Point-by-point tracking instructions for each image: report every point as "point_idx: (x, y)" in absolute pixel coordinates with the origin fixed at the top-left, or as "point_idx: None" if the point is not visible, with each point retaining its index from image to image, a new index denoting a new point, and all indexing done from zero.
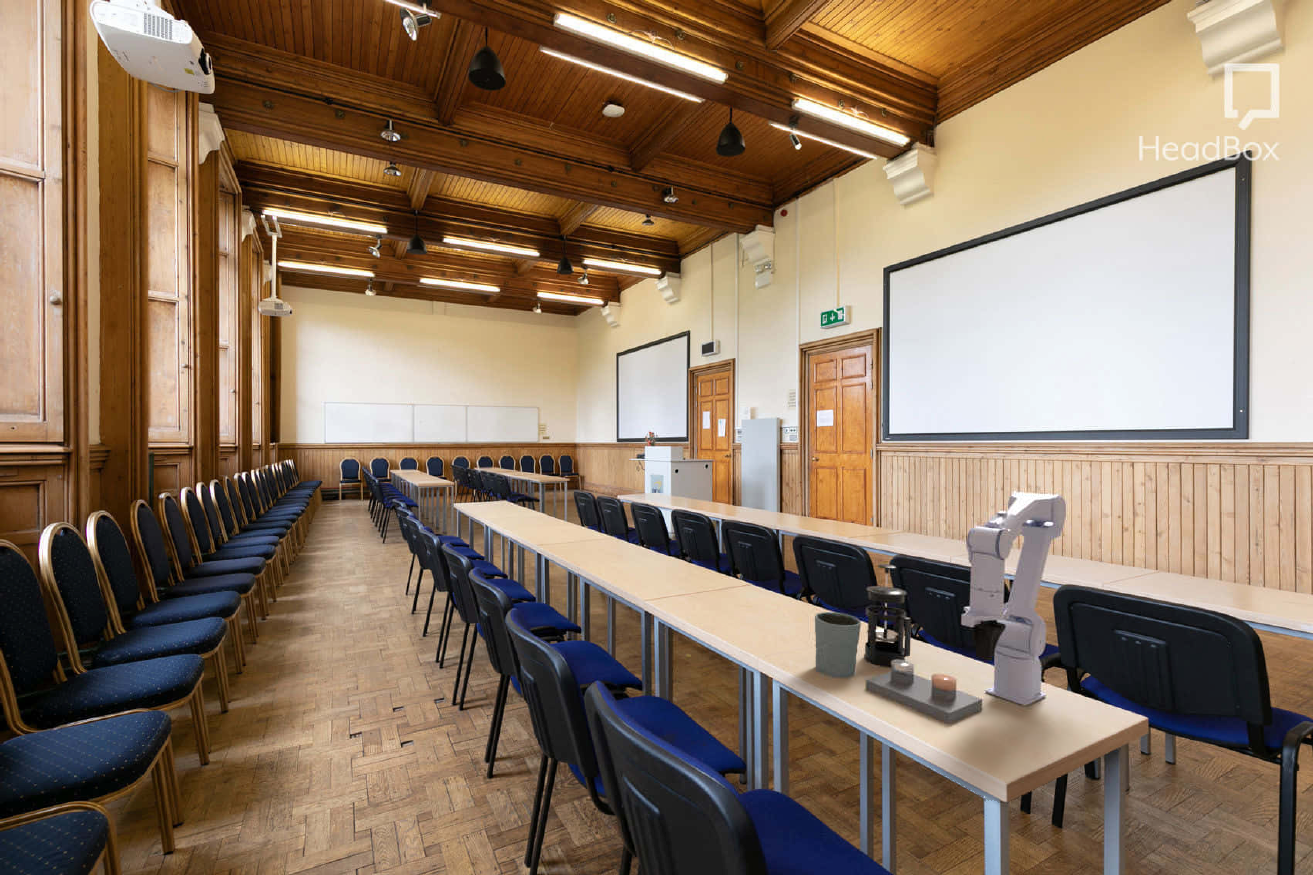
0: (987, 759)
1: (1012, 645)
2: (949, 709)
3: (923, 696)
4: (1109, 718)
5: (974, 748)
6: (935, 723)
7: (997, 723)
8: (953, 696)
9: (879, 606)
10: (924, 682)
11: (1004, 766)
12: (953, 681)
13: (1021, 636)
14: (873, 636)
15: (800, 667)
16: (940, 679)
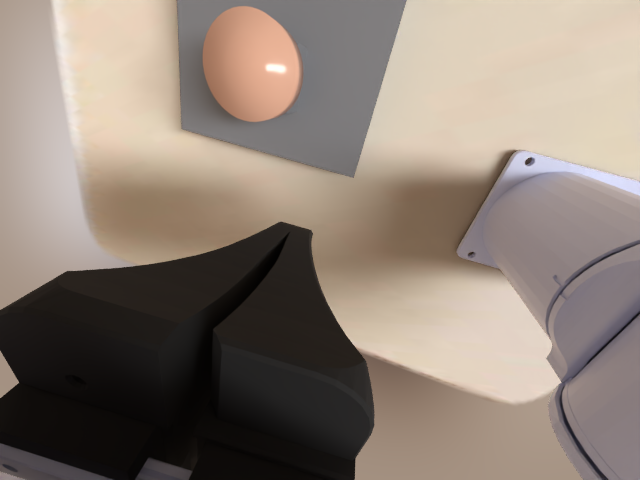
0: (131, 221)
1: (617, 347)
2: (202, 122)
3: (224, 11)
4: (492, 373)
5: (145, 197)
6: (172, 97)
7: (295, 213)
8: None
9: None
10: None
11: (136, 244)
12: (243, 114)
13: (627, 445)
14: None
15: None
16: (219, 63)
